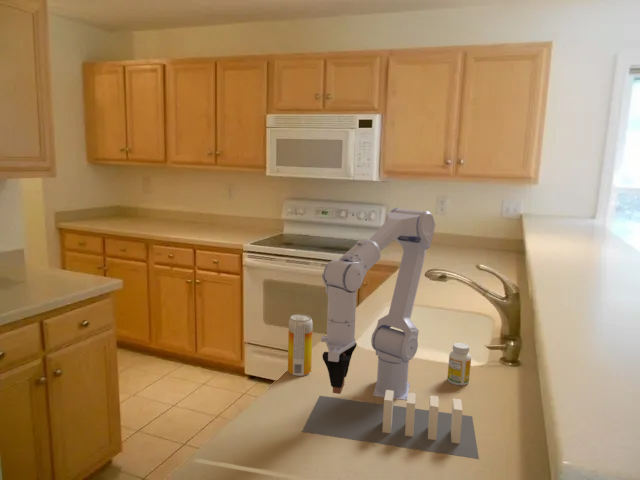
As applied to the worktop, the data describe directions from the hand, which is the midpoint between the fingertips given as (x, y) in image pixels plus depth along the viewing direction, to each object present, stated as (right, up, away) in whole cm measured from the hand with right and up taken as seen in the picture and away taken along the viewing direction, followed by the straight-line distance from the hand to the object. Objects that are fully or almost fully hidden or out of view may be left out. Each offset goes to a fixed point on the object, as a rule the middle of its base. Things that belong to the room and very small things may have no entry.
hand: (338, 381), depth 101 cm
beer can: (-9, -5, +25) cm, 27 cm away
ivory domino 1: (+10, -9, -1) cm, 14 cm away
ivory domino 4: (+23, -10, -4) cm, 25 cm away
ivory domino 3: (+19, -10, -3) cm, 21 cm away
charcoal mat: (+11, -9, 0) cm, 14 cm away
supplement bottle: (+31, -7, +23) cm, 39 cm away
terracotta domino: (0, -2, 0) cm, 2 cm away
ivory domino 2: (+14, -9, -2) cm, 17 cm away
